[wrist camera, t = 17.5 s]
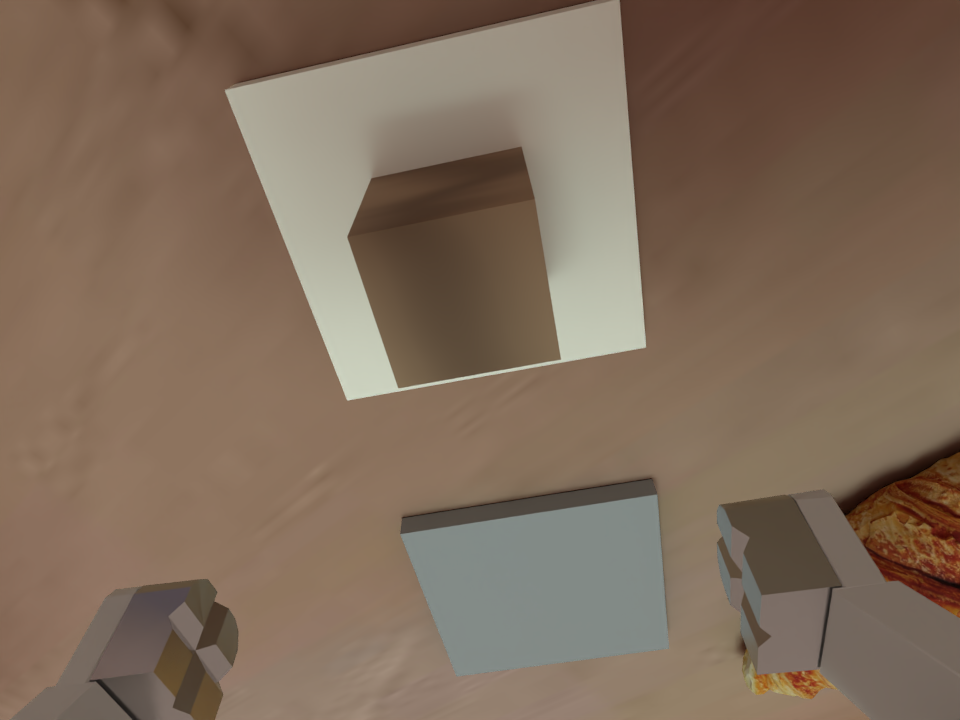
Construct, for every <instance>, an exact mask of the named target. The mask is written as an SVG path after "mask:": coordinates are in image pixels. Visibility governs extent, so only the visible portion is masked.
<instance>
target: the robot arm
mask: <svg viewBox="0 0 960 720" xmlns="http://www.w3.org/2000/svg"><path fill="white" fill-rule="evenodd" d="M717 524H718V526H719V529H720V531H721V534H722V537H721V539H720V540H719V541H718V542H717V555H718V563H719V569H720V574H721V578H722V582H723V585H724V588H725V591H726V594H727V597H728V600H729V602H730V605H731V606H733V607H734V608H735V609H737V610H738V611H739V612H740V613H741V634H742V637H743V640H744V642H745V645H746V647H747V650H748V652H749V655H750V658H751V660H752V663H753V665H754V668H755V671H756V673H757V675H761V674H773V673H785V672H796V671H808V670H819V669H820V674H822V675H823V676H824V677H825V678H826V679H827V680H828V681H829V682H830V683H831V684H833V685H834V686H835V687H836V688H837V689H838V690H839V691H840V692H841V693H842V694H844V695H845V696H846V697H847V698H848V699H849V700H850V701H851V702H852V703H853V704H855V705H856V706H857V707H858V708H859V709H860V710H861V711H862V712H863V713H865V714H866V715H867V716H868V717H869V718H870V719H871V720H960V618H959V617H957V616H955V615H954V614H952V613H951V612H949V611H947V610H946V609H944V608H942V607H941V606H939V605H937V604H936V603H934V602H932V601H931V600H929V599H928V598H926V597H924V596H923V595H921V594H919V593H918V592H916V591H914V590H913V589H911V588H909V587H908V586H906V585H905V584H903V583H901V582H900V581H888V582H887V581H886V580H885V578H884V577H883V575H882V574H881V572H880V570H879V569H878V567H877V566H876V564H875V563H874V561H873V560H872V558H871V556H870V555H869V553H868V552H867V550H866V549H865V547H864V545H863V544H862V542H861V541H860V539H859V538H858V536H857V534H856V533H855V531H854V530H853V528H852V527H851V525H850V524H849V522H848V520H847V519H846V517H845V516H844V514H843V513H842V511H841V509H840V508H839V506H838V505H837V503H836V502H835V500H834V498H833V497H832V495H831V494H830V493H828V492H827V491H826V490H817V491H810V492H803V493H796V494H789V495H780V496H773V497H767V498H760V499H754V500H747V501H741V502H734V503H728V504H721V505H719V507H718V510H717ZM216 594H217V591H216V589H215V588H214V587H213V585H212V584H211V583H210V581H209V580H208V579H200V580H190V581H181V582H173V583H164V584H155V585H146V586H140V587H132V588H124V589H116V590H114V591H113V592H112V593H111V594H109V595H108V596H107V597H106V598H105V599H104V601H103V603H102V605H101V606H100V608H99V610H98V612H97V614H96V615H95V617H94V619H93V621H92V622H91V624H90V626H89V628H88V629H87V631H86V633H85V635H84V637H83V638H82V640H81V642H80V644H79V645H78V647H77V649H76V651H75V652H74V654H73V656H72V658H71V660H70V661H69V663H68V665H67V667H66V668H65V670H64V672H63V674H62V676H61V677H60V679H59V681H58V683H57V684H56V686H53V687H47V688H45V689H44V690H43V691H42V692H41V693H40V694H39V695H37V696H36V697H35V698H34V699H33V700H32V701H31V702H29V703H28V704H27V705H26V706H25V707H24V708H23V709H22V710H20V711H19V712H18V713H17V714H16V715H15V716H14V717H12V718H11V719H10V720H215V717H216V714H217V711H218V708H219V705H220V703H221V700H222V697H223V692H222V690H221V687H220V684H219V681H220V680H221V679H222V678H223V677H224V676H225V675H226V673H227V672H228V671H229V670H230V669H231V668H232V667H233V663H234V660H235V657H236V654H237V650H238V628H237V624H236V620H235V618H234V616H233V614H232V613H231V611H230V610H229V609H228V608H227V607H225V606H223V605H221V604H219V603H217V602H215V601H214V600H215V597H216Z"/></svg>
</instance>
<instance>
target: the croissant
mask: <svg viewBox="0 0 960 720" xmlns="http://www.w3.org/2000/svg"><path fill="white" fill-rule="evenodd" d="M845 517H846V519H847V520H848V522H849V524H850V525H851V527H852V528H853V530H854V531H855V533H856V534H857V536H858V538H859V539H860V541H861V542H862V544H863V545H864V547H865V549H866V550H867V552H868V553H869V555H870V556H871V558H872V560H873V561H874V563H875V564H876V566H877V567H878V569H879V570H880V572H881V574H882V575H883V577H884V578H885V580H886V581H887V582H888V581H900V582H901V583H903V584H905V585H906V586H908V587H909V588H911V589H913V590H914V591H916V592H918V593H919V594H921V595H923V596H924V597H926V598H928V599H929V600H931V601H932V602H934V603H936V604H937V605H939V606H941V607H942V608H944V609H946V610H947V611H949V612H951V613H952V614H954V615H955V616H957V617H959V618H960V452H958V453H956V454H954V455H952V456H951V457H949V458H944V459H940V460H939V461H937V462H936V463H935V464H934V465H932V466H931V467H930V468H928V469H926V470H924V471H922V472H920V473H919V474H917V475H915V476H914V477H912V478H910V479H906V480H901V481H897V482H894V483H892V484H890V485H888V486H885V487H884V488H882V489H880V490H879V491H877V492H875V493H873V494H872V495H871V496H870V497H869V498H867V499H866V500H864V501H863V502H861V503H860V504H858V506H857V507H856V508H855V509H854V510H852V511H851V512H850V513H849V514H848V515H846V516H845ZM742 671H743V675H744V680H745V682H746V685H747V687H748V688H749V689H750V690H751V691H752V692H753V693H755V694H756V695H759V694H764V693H765V692H767V691H768V690H769V689H770V690H772V691H774V692H776V693H781V694H786V695H791V696H800V697H801V698H807V699H812V698H814V696H815V695H816V694H817V693H818V691H820V690H821V689H823V688H825V687H827V688H831V689H837V688H836V687H835V686H834V685H833V684H831V683H830V682H829V681H828V680H827V679H826V678H825V677H824V676H823V675H822V674H820V669H819V670H808V671H796V672H785V673H773V674H761V675H757V673H756V671H755V668H754V665H753V663H752V660H751V658H750V655H749V652H748V650H747V649H746V651H745V654H744V657H743V668H742ZM837 690H838V689H837Z"/></svg>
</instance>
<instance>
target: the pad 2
mask: <svg viewBox="0 0 960 720" xmlns="http://www.w3.org/2000/svg"><path fill="white" fill-rule="evenodd" d="M400 535H401V537H402V540H403V542H404V545H405V547H406V550H407V552H408V555H409V557H410V560H411V562H412V565H413V567H414V570H415V572H416V575H417V578H418V580H419V583H420V585H421V588H422V590H423V593H424V595H425V598H426V600H427V603H428V605H429V608H430V610H431V613H432V615H433V618H434V621H435V623H436V626H437V628H438V631H439V633H440V636H441V638H442V641H443V643H444V646H445V648H446V651H447V653H448V656H449V658H450V661H451V663H452V666H453V669H454V671H455V674H456V676H464V675H471V674H479V673H487V672H494V671H502V670H509V669H517V668H525V667H532V666H540V665H547V664H555V663H563V662H570V661H578V660H585V659H593V658H601V657H608V656H616V655H623V654H631V653H639V652H646V651H654V650H661V649H669V642H668V629H667V616H666V603H665V589H664V576H663V563H662V550H661V537H660V524H659V511H658V498H657V492H656V489H655V486H654V483H653V480H652V479H648V480H642V481H636V482H629V483H623V484H617V485H610V486H604V487H598V488H591V489H585V490H579V491H572V492H566V493H559V494H553V495H547V496H540V497H534V498H528V499H521V500H515V501H509V502H502V503H496V504H490V505H483V506H477V507H470V508H464V509H458V510H451V511H445V512H439V513H432V514H426V515H420V516H413V517H407V518H402V524H401V533H400Z"/></svg>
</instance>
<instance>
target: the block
mask: <svg viewBox="0 0 960 720" xmlns="http://www.w3.org/2000/svg"><path fill="white" fill-rule="evenodd" d="M347 238H348V241H349V244H350V247H351V250H352V253H353V256H354V259H355V262H356V265H357V268H358V271H359V274H360V277H361V280H362V283H363V286H364V289H365V292H366V295H367V298H368V300H369V303H370V306H371V309H372V312H373V315H374V318H375V321H376V324H377V327H378V330H379V333H380V336H381V339H382V342H383V345H384V348H385V351H386V354H387V357H388V360H389V363H390V366H391V369H392V371H393V374H394V377H395V380H396V383H397V386H398V388H404V387H410V386H415V385H421V384H426V383H432V382H438V381H443V380H449V379H454V378H460V377H466V376H471V375H477V374H483V373H488V372H494V371H499V370H505V369H511V368H516V367H522V366H528V365H533V364H539V363H544V362H550V361H556V360H561V356H560V350H559V344H558V338H557V331H556V325H555V319H554V313H553V307H552V301H551V295H550V289H549V283H548V276H547V270H546V264H545V258H544V252H543V246H542V240H541V234H540V227H539V221H538V215H537V209H536V203H535V198H534V194H533V190H532V186H531V182H530V178H529V174H528V170H527V166H526V162H525V158H524V154H523V150H522V147H517V148H512V149H507V150H503V151H498V152H493V153H489V154H484V155H479V156H474V157H470V158H465V159H460V160H456V161H451V162H446V163H441V164H437V165H432V166H427V167H422V168H418V169H413V170H408V171H404V172H399V173H394V174H389V175H385V176H380V177H375V178H371V180H370V183H369V185H368V187H367V190H366V192H365V195H364V197H363V200H362V202H361V205H360V207H359V209H358V212H357V214H356V217H355V219H354V222H353V224H352V227H351V229H350V231H349V234H348V236H347Z"/></svg>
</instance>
